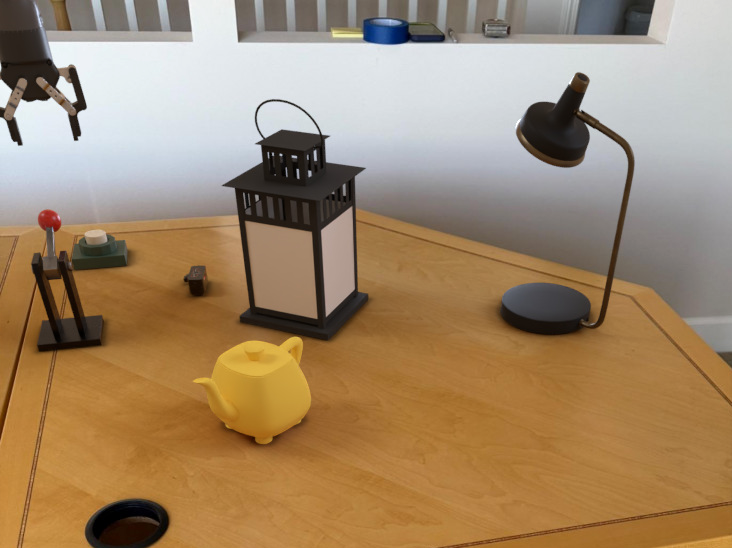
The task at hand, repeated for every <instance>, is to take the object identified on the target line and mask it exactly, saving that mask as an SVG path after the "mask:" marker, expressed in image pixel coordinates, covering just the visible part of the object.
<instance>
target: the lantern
mask: <svg viewBox="0 0 732 548" xmlns="http://www.w3.org/2000/svg"><path fill="white" fill-rule="evenodd" d="M274 102H275V103H277V102H278V103H284V104H288V105H291V106H293V107H294V108H297V109H299V110H300V111H301V112H303V113H304V114H305V115H306V116H308V118H309V119H310V120H311V121H312V123H313V124H314V125H315V127H316V129H317V131H318V133H312V132H306V131H305V132H304V131H298V130H289V129H279V130H277V131H276V132H273V133H272V134H270V135H268V136H266V137H265V136H264V134H263V133H262V132H261V129H260V127H259V124H258V113H259V110H260V109H261V108H262V106H264V105H265V104H268V103H274ZM254 123H255V127H256V129H257V132H258V134H259V136H261V138H262V139H261V140H259V141H257V142H255V143H254V145H258V146H260V150H261V151H260V152H261V159H262V161H261V162H260V163H258V164H256V165H254V166H252V167H251V168H249V169H247V170H246V171H244V172H243V173H241V174H239V175H237V176H235V177H233V178H232V179H230V180H228V181H227V182H225V183H223V184H222V185H221V187H225V188H231V189H234V195H235V202H236V209H237V218H238V227H239V234H240V241H241V250H242V258H243V266H244V274H245V282H246V289H247V296H248V305H249V307H248V308H247V309H246V310H244V312H242V313H241V314H240V315H239V322H240V323H243V324H247V325H252V326H257V327H263V328H267V329H271V330H276V331H282V332H286V333H290V334H296V335H301V336H305V337H310V338H314V339H319V340H324V341H329V340H331V338H332V337H333V336H334V335H335V334H337V332H338V331H339V330H340V329H341V328H342V327H343V326H344V325H345V324H346V323H347V322H348V321H349V320H350V319H351V318H352V317H353V316H354V315H355V314H356V313H357V312H358V311H359V310H360V309H361V308H362V307H363V305H364V304H366V303H367V301H368V300H369V293H367V292H362V291H359V281H358V280H359V279H358V278H359V277H358V244H357V243H358V241H357V238H358V237H357V207H356V206H357V205H356V176H358V175H359V174H361V173H362V172H363V171H365V170H366V169H367V167H364V166H362V167H361V166H356V165H349V164H342V163H334V162H327V153H326V152H327V151H326V150H327V149H326V139H328V138H330V137H331V135H328V134H323V133H322V131H321V128H320V126H319V124H318V122H317V121H316V120H315V119H314V118H313V116H312V115H311V114H310V113H309V112H308V111H307V110H305V109H304V108H303V107H301V106H300V105H298V104H297V103H294V102H291V101H288V100H285V99H280V98H271V99H266V100H264V101H262V102H261V103H260V104H258V106H257V107H256V109H255V112H254ZM315 153H316V154H315ZM315 155H316V156H315ZM293 156H294V157H293ZM315 157H316V160H315ZM309 172H310V176H309ZM344 186H345V187H344ZM344 188H345V195H344ZM256 196H258V200H257V199H256Z"/></svg>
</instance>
